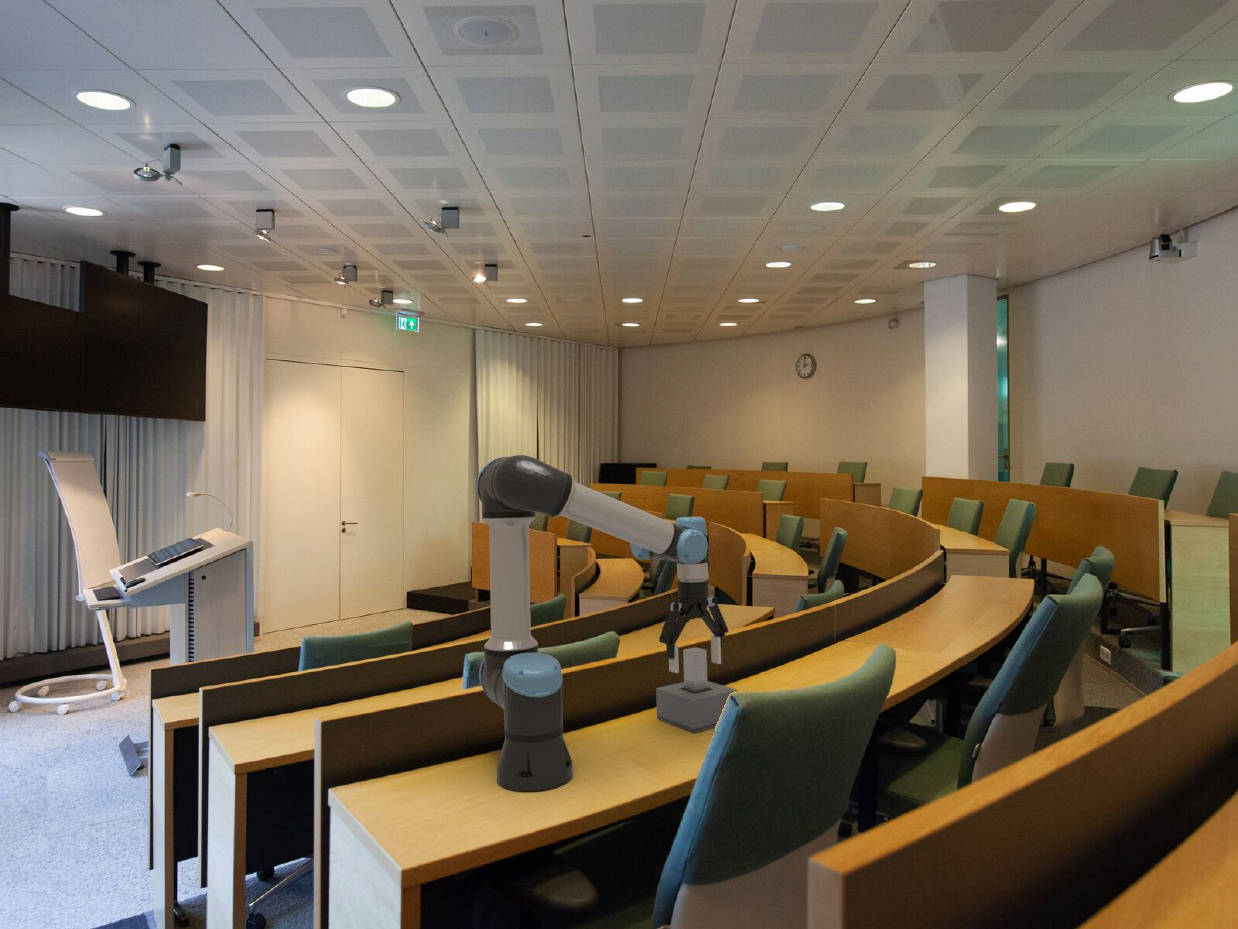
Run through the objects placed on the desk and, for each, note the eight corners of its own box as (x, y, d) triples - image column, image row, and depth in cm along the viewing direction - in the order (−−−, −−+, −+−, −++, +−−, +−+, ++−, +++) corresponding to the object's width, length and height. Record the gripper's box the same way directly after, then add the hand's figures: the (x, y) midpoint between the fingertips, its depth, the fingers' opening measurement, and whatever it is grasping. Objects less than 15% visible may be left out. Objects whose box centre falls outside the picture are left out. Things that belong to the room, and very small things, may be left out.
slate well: (694, 733, 171) (693, 700, 171) (657, 719, 183) (656, 688, 183) (738, 721, 179) (737, 689, 179) (700, 708, 191) (699, 678, 191)
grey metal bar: (696, 719, 178) (693, 652, 179) (685, 715, 181) (683, 649, 182) (708, 716, 180) (706, 650, 181) (697, 712, 184) (695, 647, 184)
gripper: (720, 574, 192) (722, 656, 192) (642, 583, 178) (645, 673, 177) (740, 576, 186) (743, 662, 185) (662, 586, 172) (665, 679, 171)
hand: (695, 667), depth 181 cm, fingers open, 13 cm apart
